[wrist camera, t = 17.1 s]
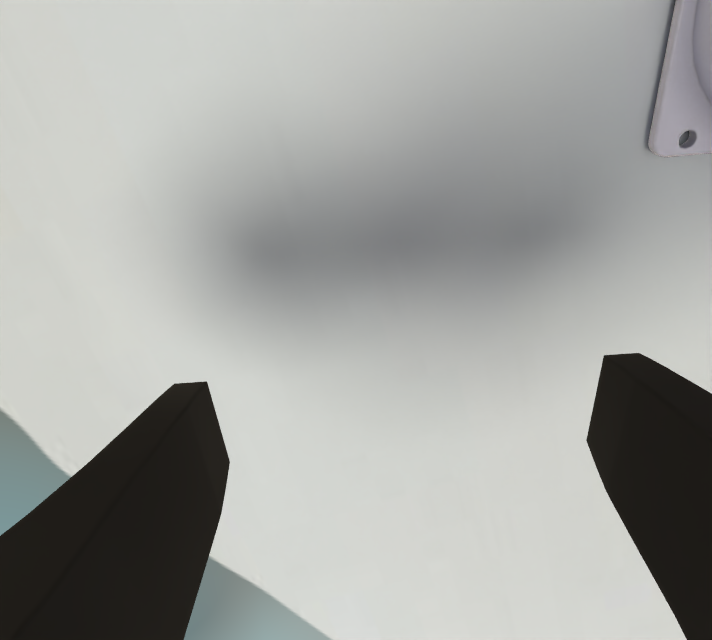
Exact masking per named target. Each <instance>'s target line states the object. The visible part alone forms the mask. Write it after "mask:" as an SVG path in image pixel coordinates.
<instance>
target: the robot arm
mask: <svg viewBox="0 0 712 640" xmlns="http://www.w3.org/2000/svg"><path fill="white" fill-rule="evenodd" d="M686 131H689V138H688V140H687V141H686V142H685V143H684V144H682V145H679V138H680V136H681V135H682V134H683V133H684V132H686ZM649 148H650V150H651V152H653V153H654V154H656V155H658V156H661V157H673V156H684V155H695V154H707V153H712V0H676V2H675V7H674V13H673V18H672V23H671V28H670V33H669V38H668V43H667V48H666V54H665V59H664V64H663V69H662V74H661V79H660V84H659V89H658V94H657V100H656V105H655V110H654V115H653V120H652V125H651V130H650V135H649ZM587 443H588V446H589V448H590V451H591V454H592V456H593V459H594V462H595V464H596V467H597V470H598V472H599V475H600V477H601V479H602V482H603V484H604V487H605V489H606V492H607V493H608V495H609V497H610V499H611V501H612V503H613V505H614V507H615V508H616V510H617V512H618V514H619V516H620V518H621V519H622V521H623V523H624V525H625V527H626V529H627V530H628V532H629V534H630V536H631V538H632V540H633V541H634V543H635V545H636V547H637V549H638V550H639V552H640V554H641V556H642V558H643V559H644V561H645V563H646V565H647V566H648V568H649V570H650V572H651V574H652V575H653V577H654V579H655V581H656V583H657V584H658V586H659V588H660V590H661V592H662V593H663V595H664V597H665V599H666V601H667V602H668V604H669V606H670V608H671V610H672V611H673V613H674V615H675V617H676V619H677V621H678V623H679V625H680V627H681V629H682V631H683V633H684V635H685V637H686V639H687V640H712V394H711V393H709V392H708V391H706V390H704V389H702V388H701V387H699V386H697V385H696V384H694V383H692V382H691V381H689V380H687V379H685V378H684V377H682V376H680V375H678V374H677V373H675V372H673V371H671V370H670V369H668V368H666V367H664V366H663V365H661V364H659V363H657V362H655V361H653V360H652V359H650V358H648V357H646V356H644V355H642V354H640V353H633V354H618V355H604V358H603V363H602V368H601V372H600V377H599V382H598V387H597V392H596V397H595V402H594V407H593V412H592V416H591V421H590V426H589V431H588V436H587ZM229 463H230V461H229V458H228V454H227V451H226V447H225V444H224V440H223V437H222V433H221V430H220V426H219V423H218V419H217V416H216V412H215V409H214V405H213V402H212V398H211V394H210V391H209V387H208V384H207V382H194V383H179V384H174V385H172V386H171V387H170V388H169V389H168V390H167V391H165V392H164V393H163V394H162V395H161V396H160V397H159V398H158V399H157V400H155V401H154V402H153V403H152V404H151V405H150V406H149V407H148V408H147V409H146V410H145V411H144V412H143V413H142V414H140V415H139V416H138V417H137V418H136V419H135V420H134V421H133V422H132V423H131V424H130V425H129V426H128V427H127V428H126V429H125V430H123V431H122V432H121V433H120V434H119V435H118V436H117V437H116V438H115V439H114V440H113V441H111V442H110V443H109V444H108V445H107V446H106V447H105V448H104V449H103V450H102V451H101V452H100V453H98V454H97V455H96V456H95V457H94V458H93V459H92V460H91V461H90V462H89V463H87V464H86V465H85V466H84V467H83V468H82V469H81V470H79V471H78V472H77V473H76V474H75V475H74V476H72V477H71V478H70V479H69V480H68V481H66V482H65V483H64V484H63V485H62V486H61V487H59V488H58V489H57V490H56V491H55V492H54V493H52V494H51V495H50V496H49V497H48V498H47V499H45V500H44V501H43V502H42V503H41V504H39V505H38V506H37V507H36V508H35V509H34V510H33V511H31V512H30V513H29V514H28V515H26V516H25V517H24V518H23V519H21V520H20V521H19V522H18V523H16V524H15V525H14V526H12V527H11V528H10V529H9V530H7V531H6V532H5V533H4V534H2V535H1V536H0V640H184V636H185V633H186V629H187V626H188V623H189V620H190V616H191V613H192V609H193V606H194V603H195V600H196V596H197V593H198V590H199V587H200V583H201V580H202V577H203V573H204V570H205V567H206V563H207V560H208V557H209V553H210V550H211V547H212V543H213V540H214V536H215V533H216V530H217V526H218V523H219V519H220V516H221V512H222V506H223V501H224V495H225V489H226V483H227V476H228V470H229Z"/></svg>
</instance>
